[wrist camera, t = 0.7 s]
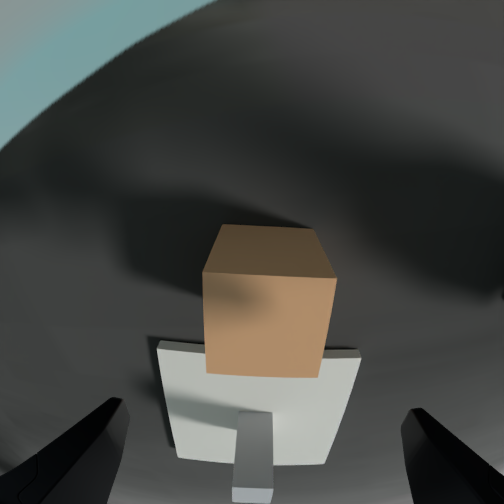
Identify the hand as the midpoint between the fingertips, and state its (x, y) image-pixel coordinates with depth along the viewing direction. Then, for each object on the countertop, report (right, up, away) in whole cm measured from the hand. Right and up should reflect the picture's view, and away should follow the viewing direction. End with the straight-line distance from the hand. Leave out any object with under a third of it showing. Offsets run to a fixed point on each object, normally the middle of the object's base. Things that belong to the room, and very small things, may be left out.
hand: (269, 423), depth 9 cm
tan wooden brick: (0, +4, +11) cm, 12 cm away
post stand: (0, -8, +15) cm, 17 cm away
